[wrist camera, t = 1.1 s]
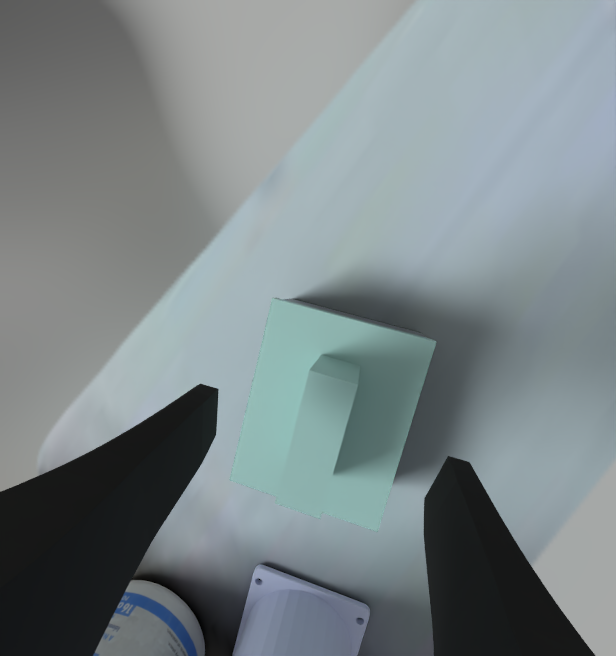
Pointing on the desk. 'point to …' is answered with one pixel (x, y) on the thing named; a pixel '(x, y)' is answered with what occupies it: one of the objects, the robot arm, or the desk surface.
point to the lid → (329, 412)
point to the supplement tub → (151, 625)
